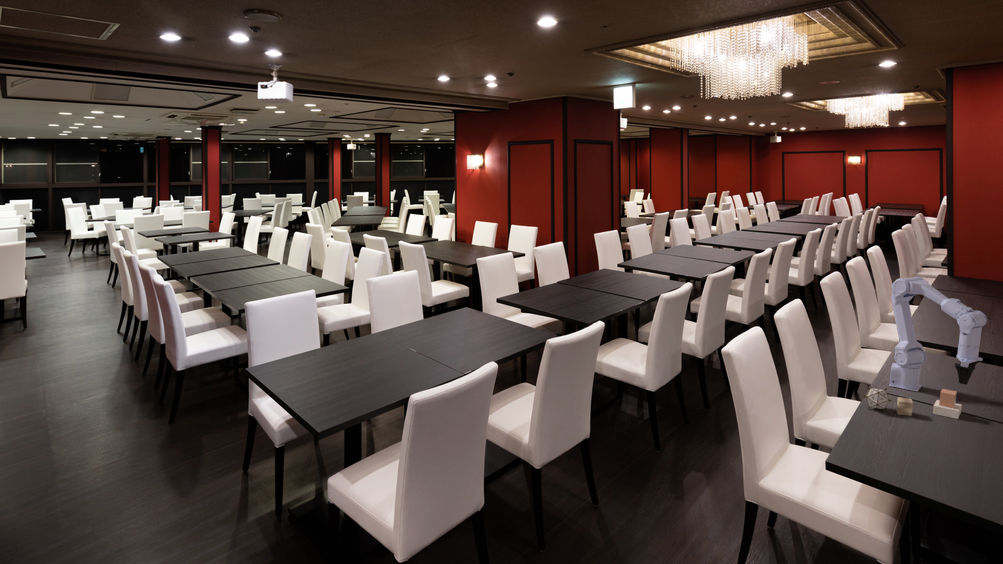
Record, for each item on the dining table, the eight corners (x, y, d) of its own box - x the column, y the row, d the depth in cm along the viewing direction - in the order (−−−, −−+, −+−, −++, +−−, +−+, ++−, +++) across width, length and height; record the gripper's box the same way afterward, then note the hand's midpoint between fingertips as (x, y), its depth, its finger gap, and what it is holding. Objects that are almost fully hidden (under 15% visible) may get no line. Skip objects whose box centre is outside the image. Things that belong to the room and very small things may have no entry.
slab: (932, 413, 198) (933, 405, 197) (936, 407, 203) (937, 399, 202) (957, 419, 193) (958, 410, 192) (960, 412, 198) (961, 404, 197)
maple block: (897, 414, 199) (899, 401, 198) (896, 410, 202) (897, 397, 201) (911, 416, 197) (912, 403, 196) (910, 411, 200) (911, 398, 199)
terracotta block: (939, 405, 197) (940, 392, 196) (941, 401, 200) (942, 388, 199) (953, 408, 195) (955, 394, 194) (955, 404, 197) (956, 391, 196)
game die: (878, 420, 202) (880, 406, 196) (856, 405, 209) (858, 390, 202) (896, 406, 204) (899, 391, 197) (873, 391, 210) (876, 376, 203)
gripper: (981, 351, 190) (976, 389, 193) (986, 341, 200) (981, 377, 203) (955, 348, 195) (950, 384, 198) (961, 338, 205) (956, 373, 208)
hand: (964, 380), depth 201 cm, fingers open, 7 cm apart
